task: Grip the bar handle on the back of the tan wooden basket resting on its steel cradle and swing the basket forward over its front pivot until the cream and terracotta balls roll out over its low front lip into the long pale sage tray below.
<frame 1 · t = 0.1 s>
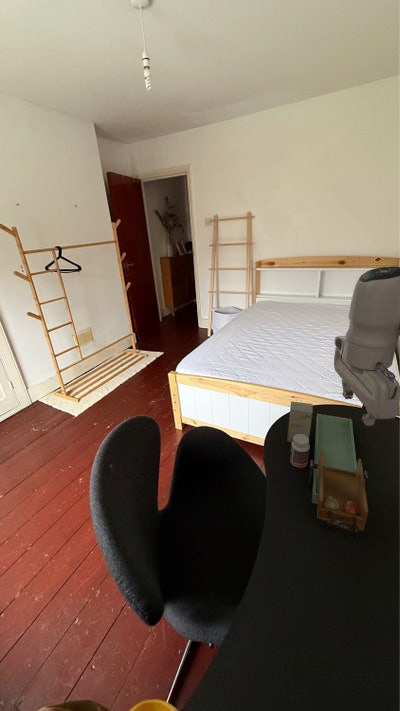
hand: (356, 409, 65), 24 cm above the table, tool pointing down, fingers open, 8 cm apart
cradle: (335, 513, 68), resting in tray
basket: (340, 493, 63), point 9 cm above the table, hinge at 0.0°, touching cream ball, terracotta ball
pill bottle: (298, 462, 83), on the table
tray: (333, 459, 83), on the table
cream ball: (330, 504, 62), point 8 cm above the table, touching basket
cosmetic box: (298, 439, 91), on the table
terracotta ball: (350, 509, 60), point 8 cm above the table, touching basket
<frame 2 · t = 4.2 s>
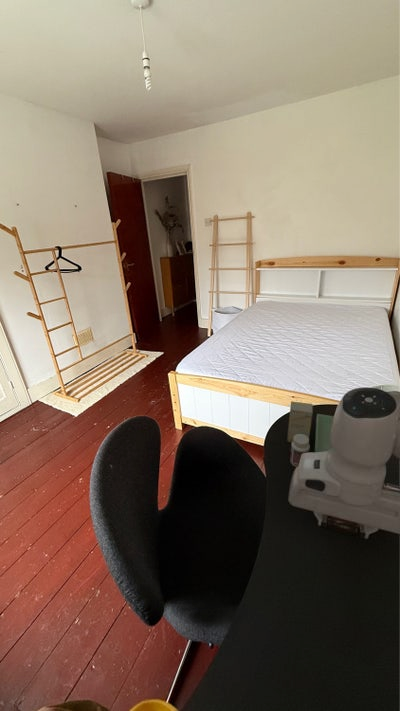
hand: (341, 528, 57), 8 cm above the table, tool pointing down, fingers closed on basket, 6 cm apart
basket: (340, 493, 63), point 9 cm above the table, hinge at 0.0°, touching cream ball, gripper, terracotta ball
everything else where it was.
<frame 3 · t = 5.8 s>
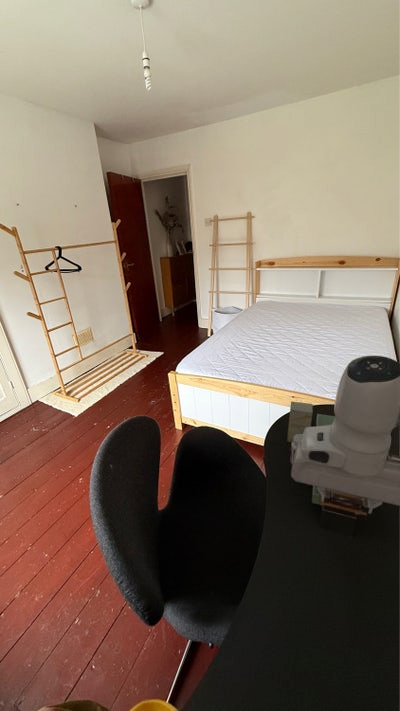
hand: (344, 504, 56), 13 cm above the table, tool pointing down, fingers closed on basket, 6 cm apart
basket: (341, 482, 63), point 11 cm above the table, hinge at 16.4°, touching gripper
cream ball: (327, 460, 80), point 2 cm above the table, tilted 14°, touching tray
terracotta ball: (342, 463, 79), point 2 cm above the table, touching tray
everything else where it was.
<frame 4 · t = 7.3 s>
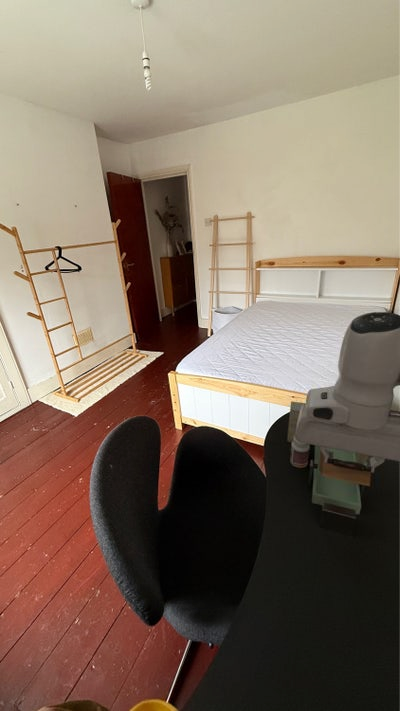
hand: (347, 465, 57), 19 cm above the table, tool pointing down, fingers closed on basket, 6 cm apart
basket: (343, 464, 64), point 14 cm above the table, hinge at 40.2°, touching gripper
cream ball: (327, 423, 94), point 2 cm above the table, tilted 148°, touching tray
terracotta ball: (340, 426, 92), point 2 cm above the table, tilted 160°, touching tray
everything else where it was.
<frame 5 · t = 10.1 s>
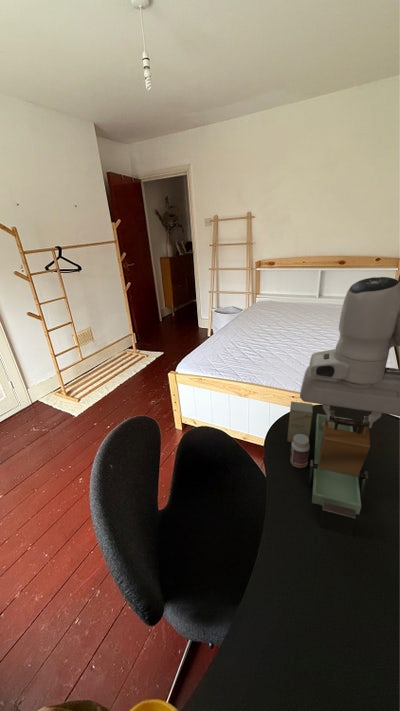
hand: (347, 422, 63), 22 cm above the table, tool pointing down, fingers closed on basket, 6 cm apart
basket: (343, 444, 67), point 15 cm above the table, hinge at 71.5°, touching gripper
cream ball: (327, 426, 92), point 2 cm above the table, tilted 144°, touching tray
terracotta ball: (341, 434, 89), point 2 cm above the table, tilted 64°, touching tray
everything else where it was.
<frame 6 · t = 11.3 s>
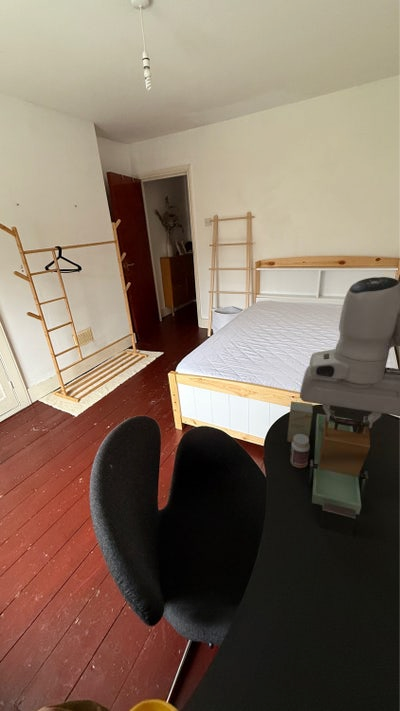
hand: (347, 422, 63), 22 cm above the table, tool pointing down, fingers closed on basket, 6 cm apart
basket: (343, 444, 67), point 15 cm above the table, hinge at 71.5°, touching gripper
cream ball: (327, 428, 91), point 2 cm above the table, tilted 115°, touching tray
terracotta ball: (341, 438, 87), point 2 cm above the table, tilted 5°, touching tray
everything else where it was.
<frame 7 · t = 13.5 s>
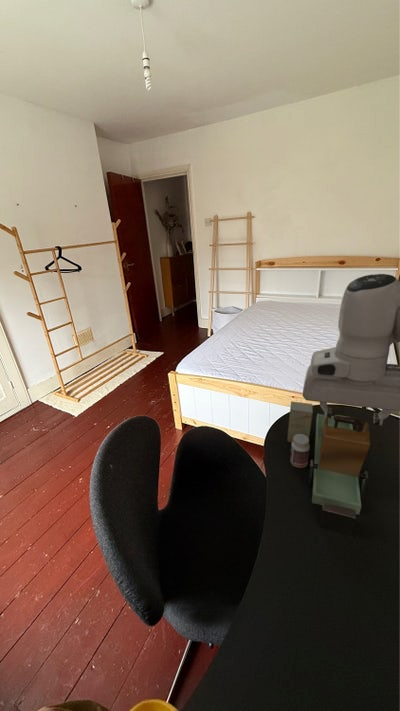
hand: (351, 419, 63), 23 cm above the table, tool pointing down, fingers open, 8 cm apart
basket: (343, 443, 67), point 15 cm above the table, hinge at 73.6°
cream ball: (327, 431, 90), point 2 cm above the table, tilted 61°, touching tray
terracotta ball: (341, 444, 85), point 2 cm above the table, tilted 102°, touching tray
everything else where it was.
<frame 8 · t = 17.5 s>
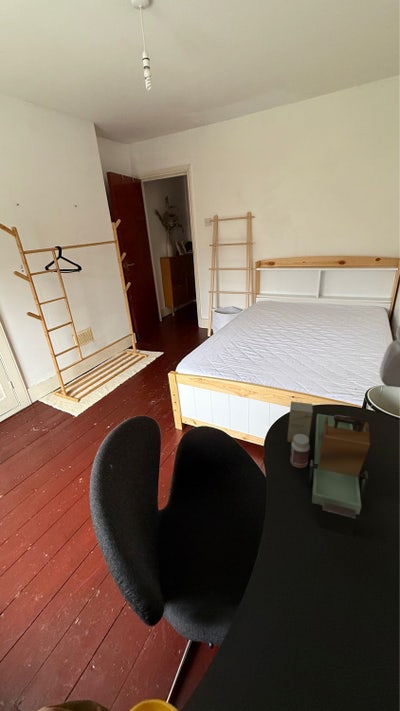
cream ball: (327, 437, 88), point 2 cm above the table, tilted 36°, touching tray
terracotta ball: (342, 458, 80), point 2 cm above the table, tilted 63°, touching tray
everything else where it was.
at the end: basket at +74° (first picture: +0°); cream ball touching tray; terracotta ball touching tray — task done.
